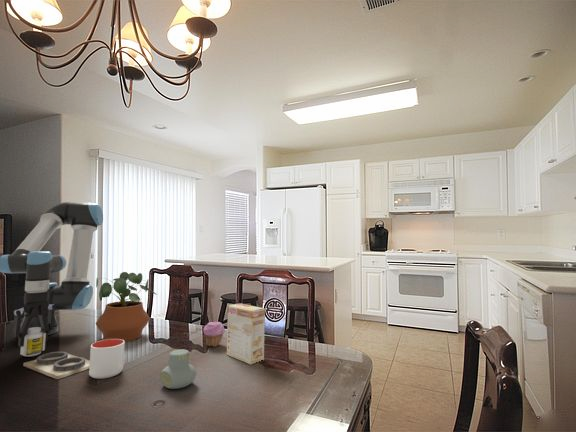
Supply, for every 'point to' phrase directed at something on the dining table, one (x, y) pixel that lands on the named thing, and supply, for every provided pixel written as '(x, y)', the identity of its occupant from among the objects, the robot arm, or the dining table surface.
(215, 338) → the cupcake
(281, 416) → the dining table surface
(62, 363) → the caddy
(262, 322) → the coffeecake box
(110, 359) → the cup
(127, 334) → the potted plant
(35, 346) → the supplement bottle
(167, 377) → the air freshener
